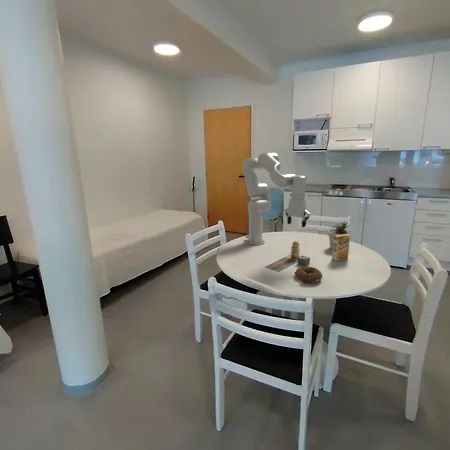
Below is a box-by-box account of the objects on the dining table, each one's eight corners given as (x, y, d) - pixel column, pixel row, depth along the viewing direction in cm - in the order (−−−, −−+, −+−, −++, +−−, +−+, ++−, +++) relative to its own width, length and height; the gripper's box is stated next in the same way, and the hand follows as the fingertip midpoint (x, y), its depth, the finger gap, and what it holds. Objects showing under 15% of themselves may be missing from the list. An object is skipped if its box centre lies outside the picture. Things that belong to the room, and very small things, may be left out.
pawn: (289, 257, 181) (290, 241, 178) (293, 255, 184) (294, 239, 181) (296, 259, 177) (297, 243, 175) (300, 257, 181) (301, 241, 178)
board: (264, 268, 168) (264, 267, 167) (291, 255, 187) (291, 254, 187) (278, 273, 161) (278, 272, 161) (305, 259, 180) (305, 258, 180)
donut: (299, 271, 164) (299, 263, 162) (324, 276, 157) (325, 268, 156) (291, 281, 152) (291, 272, 151) (318, 287, 145) (318, 278, 144)
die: (297, 265, 171) (297, 257, 170) (301, 263, 175) (302, 255, 173) (305, 268, 168) (305, 259, 166) (309, 265, 171) (310, 257, 170)
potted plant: (342, 253, 189) (345, 223, 184) (323, 248, 199) (325, 219, 194) (352, 249, 196) (355, 220, 191) (333, 244, 207) (336, 216, 202)
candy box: (335, 261, 177) (338, 236, 173) (331, 258, 181) (333, 234, 177) (348, 259, 179) (350, 235, 175) (343, 256, 183) (345, 233, 179)
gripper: (281, 196, 174) (280, 223, 179) (308, 200, 163) (306, 229, 167) (288, 194, 179) (287, 221, 184) (314, 198, 168) (312, 226, 172)
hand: (296, 225), depth 176 cm, fingers open, 9 cm apart
